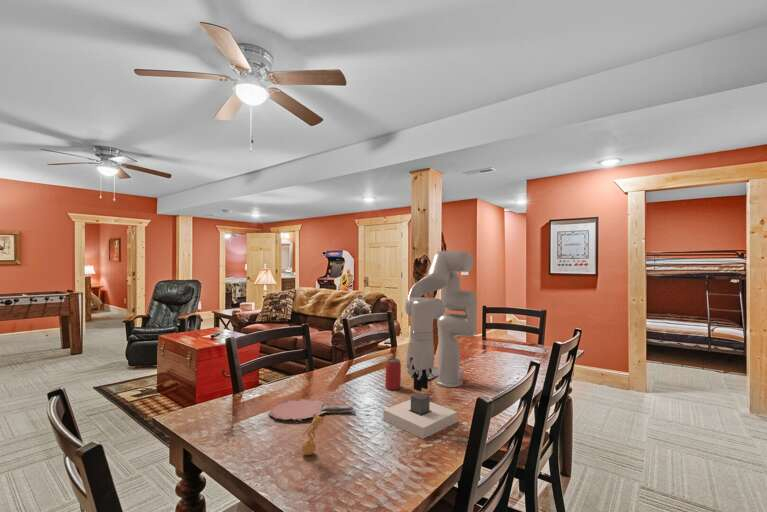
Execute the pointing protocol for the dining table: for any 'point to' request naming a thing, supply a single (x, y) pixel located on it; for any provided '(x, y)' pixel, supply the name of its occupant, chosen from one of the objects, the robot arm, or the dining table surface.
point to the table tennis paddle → (305, 409)
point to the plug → (420, 404)
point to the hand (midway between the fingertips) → (420, 388)
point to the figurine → (309, 444)
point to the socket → (420, 418)
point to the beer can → (393, 374)
